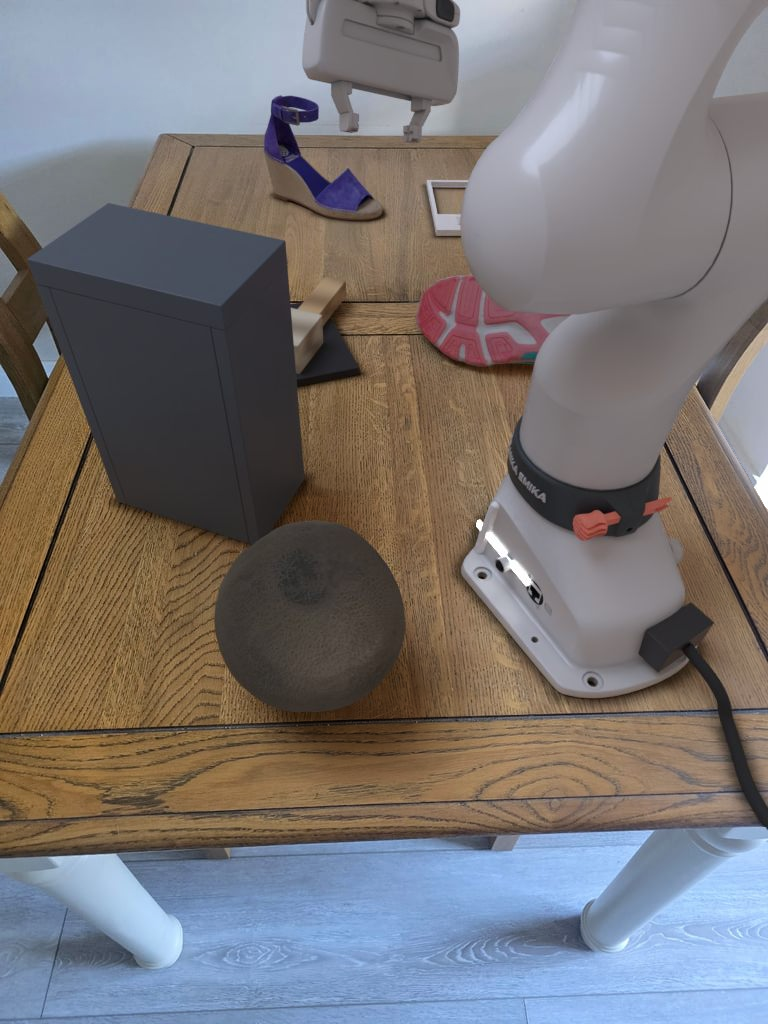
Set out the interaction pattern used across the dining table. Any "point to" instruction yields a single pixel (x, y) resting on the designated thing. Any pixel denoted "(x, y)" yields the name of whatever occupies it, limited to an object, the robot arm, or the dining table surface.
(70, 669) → the dining table surface
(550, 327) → the athletic shoe
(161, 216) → the tall grey cabinet
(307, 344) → the wooden mallet
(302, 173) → the sandal
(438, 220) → the photo frame
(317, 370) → the shoe mat
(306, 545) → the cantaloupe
